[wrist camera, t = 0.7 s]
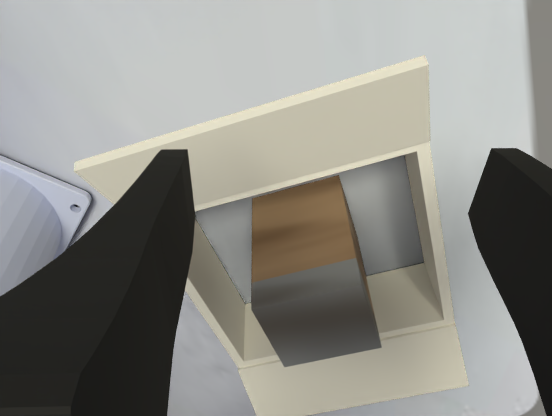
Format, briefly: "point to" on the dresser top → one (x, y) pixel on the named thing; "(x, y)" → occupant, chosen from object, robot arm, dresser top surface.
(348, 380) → the carton
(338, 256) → the walnut block
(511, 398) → the dresser top surface
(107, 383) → the robot arm
